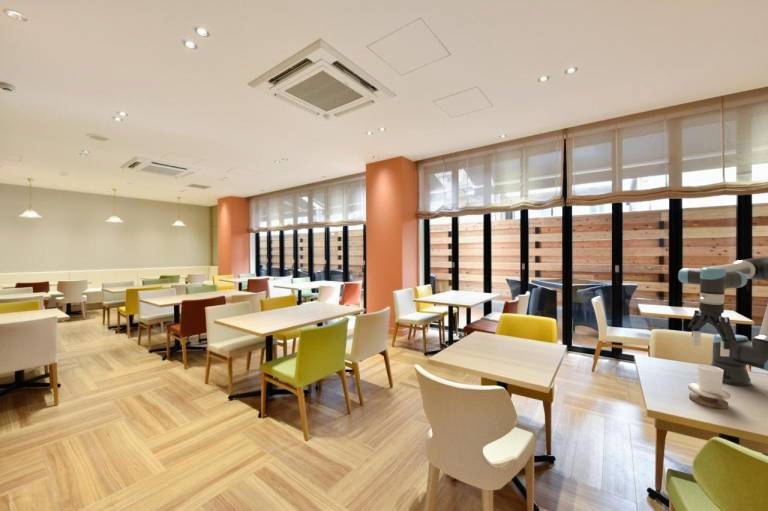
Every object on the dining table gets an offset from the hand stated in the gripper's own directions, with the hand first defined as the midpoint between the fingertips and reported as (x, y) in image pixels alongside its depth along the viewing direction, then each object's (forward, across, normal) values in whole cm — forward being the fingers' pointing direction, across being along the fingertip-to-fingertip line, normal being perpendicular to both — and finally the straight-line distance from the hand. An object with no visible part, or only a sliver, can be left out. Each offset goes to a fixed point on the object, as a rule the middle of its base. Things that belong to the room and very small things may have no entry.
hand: (709, 350), depth 139 cm
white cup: (+17, +2, -1) cm, 18 cm away
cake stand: (+23, +1, -1) cm, 23 cm away
